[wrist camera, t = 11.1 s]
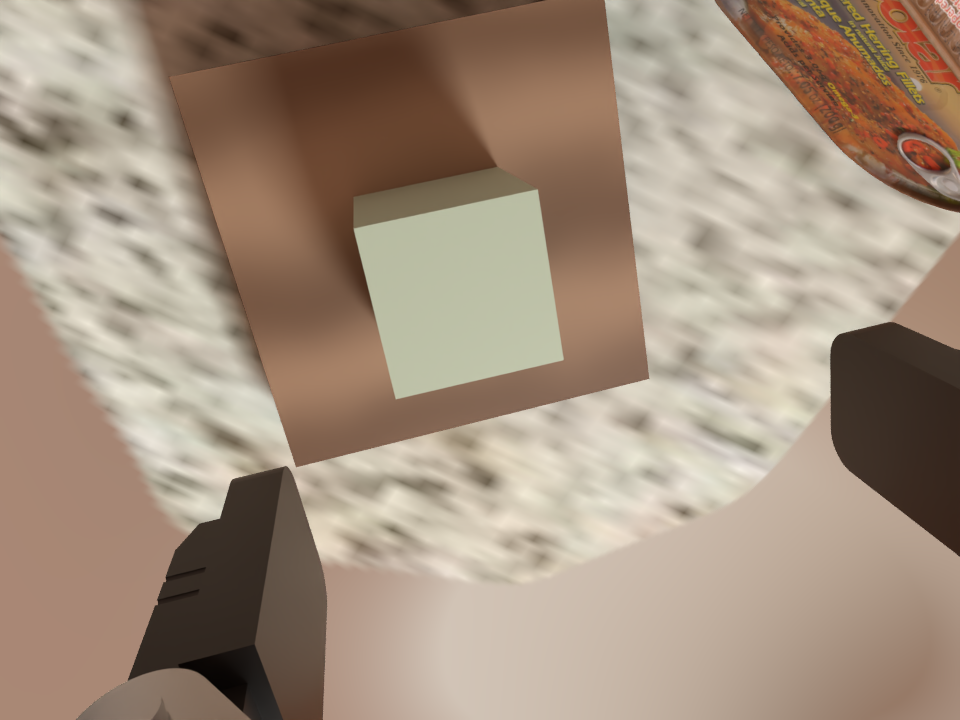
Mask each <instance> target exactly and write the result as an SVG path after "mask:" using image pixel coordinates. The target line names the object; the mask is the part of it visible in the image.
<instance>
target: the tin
mask: <svg viewBox="0 0 960 720" xmlns="http://www.w3.org/2000/svg"><path fill="white" fill-rule="evenodd" d="M715 1H716V3H717V4H718V6H719V7H720V9H721V10H722V11H723V12H724V13H725V15H726V16H727V17H728V18H729V20H730V21H731V22H732V23H733V24H734V26H735V27H736V28H737V29H738V30H739V31H740V33H741V34H742V35H743V36H744V37H745V38H746V40H747V41H748V42H749V43H750V44H751V45H752V47H753V48H754V49H755V50H756V51H757V52H758V53H759V55H760V56H761V57H762V58H763V60H764V61H765V62H766V63H767V64H768V65H769V66H770V68H771V69H772V70H773V71H774V72H775V73H776V75H777V76H778V77H779V78H780V79H781V80H782V82H783V83H784V84H785V85H786V86H787V87H788V89H789V90H790V91H791V92H792V93H793V94H794V96H795V97H796V98H797V99H798V101H799V102H800V103H801V104H802V105H803V107H804V108H805V109H806V110H807V111H808V112H809V113H810V115H811V116H812V117H813V118H814V119H815V121H816V122H817V123H818V124H819V125H820V126H821V128H822V129H823V130H824V131H825V132H826V134H827V135H828V136H829V137H830V138H831V139H832V140H833V142H834V143H835V144H836V145H837V146H838V147H839V148H840V149H841V150H842V151H843V152H844V153H845V154H846V155H847V156H848V157H849V158H851V159H852V160H853V161H854V162H855V163H857V164H858V165H859V166H860V167H862V168H863V169H864V170H866V171H867V172H868V173H870V174H871V175H872V176H874V177H875V178H877V179H878V180H880V181H882V182H883V183H885V184H886V185H888V186H890V187H892V188H894V189H896V190H898V191H899V192H901V193H903V194H906V195H908V196H910V197H912V198H914V199H916V200H919V201H921V202H924V203H927V204H930V205H933V206H936V207H939V208H942V209H946V210H950V211H954V212H959V213H960V0H715Z"/></svg>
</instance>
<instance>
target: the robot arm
mask: <svg viewBox="0 0 960 720" xmlns="http://www.w3.org/2000/svg"><path fill="white" fill-rule="evenodd" d="M830 369H831V435H832V440H833V444H834V447H835V450H836V452H837V454H838V456H839V457H840V459H841V461H842V463H843V464H844V465H845V467H846V468H847V469H848V470H849V471H850V472H852V473H853V474H854V475H855V476H857V477H858V478H859V479H861V480H862V481H863V482H864V483H866V484H867V485H868V486H870V487H871V488H872V489H873V490H875V491H876V492H877V493H879V494H880V495H881V496H882V497H884V498H885V499H886V500H888V501H889V502H890V503H891V504H893V505H894V506H895V507H897V508H898V509H899V510H901V511H902V512H903V513H904V514H906V515H907V516H908V517H910V518H911V519H912V520H913V521H915V522H916V523H917V524H919V525H920V526H921V527H922V528H924V529H925V530H926V531H928V532H929V533H930V534H932V535H933V536H934V537H935V538H937V539H938V540H939V541H940V542H942V543H943V544H944V545H946V546H947V547H948V548H949V549H951V550H952V551H954V552H955V553H956V554H957V555H958V556H960V350H957V349H954V348H951V347H949V346H947V345H944V344H942V343H940V342H938V341H935V340H933V339H931V338H929V337H926V336H924V335H922V334H919V333H917V332H915V331H913V330H910V329H908V328H906V327H903V326H901V325H899V324H896V323H893V322H888V323H883V324H879V325H875V326H871V327H867V328H863V329H858V330H854V331H850V332H846V333H842V334H839V335H838V336H837V337H836V338H835V339H834V341H833V343H832V346H831V354H830ZM157 600H158V605H156V606H155V607H154V610H153V613H152V616H151V618H150V621H149V624H148V627H147V629H146V632H145V635H144V637H143V640H142V643H141V646H140V648H139V651H138V654H137V657H136V659H135V662H134V665H133V668H132V670H131V673H130V676H129V678H128V681H127V682H125V683H123V684H121V685H119V686H117V687H116V688H114V689H112V690H111V691H109V692H108V693H106V694H105V695H103V696H102V697H101V698H99V699H98V700H97V701H95V702H94V703H93V704H92V705H90V706H89V707H88V708H87V709H86V710H85V711H84V712H83V713H82V714H81V715H80V716H79V717H78V718H77V719H76V720H323V696H324V695H323V694H324V670H325V644H326V617H327V595H326V586H325V580H324V574H323V570H322V565H321V562H320V558H319V555H318V552H317V549H316V545H315V542H314V539H313V536H312V533H311V530H310V527H309V523H308V520H307V517H306V514H305V511H304V508H303V505H302V501H301V498H300V495H299V492H298V489H297V486H296V483H295V480H294V477H293V475H292V473H291V471H290V469H289V468H288V467H287V466H285V467H281V468H277V469H272V470H268V471H264V472H260V473H256V474H252V475H248V476H243V477H239V478H235V479H233V480H232V481H231V483H230V486H229V490H228V493H227V497H226V500H225V503H224V507H223V510H222V514H221V517H220V519H217V520H213V521H209V522H205V523H201V524H199V525H198V526H197V527H196V528H195V529H194V530H193V531H192V533H191V534H190V535H189V536H188V537H187V538H186V539H185V540H184V541H183V543H182V544H181V545H180V546H179V547H178V548H177V549H176V550H175V553H174V556H173V558H172V561H171V564H170V566H169V569H168V572H167V575H166V582H164V583H163V586H162V588H161V591H160V594H159V596H158V599H157Z"/></svg>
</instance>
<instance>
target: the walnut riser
mask: <svg viewBox="0 0 960 720" xmlns="http://www.w3.org/2000/svg"><path fill="white" fill-rule="evenodd" d="M169 79H170V82H171V85H172V88H173V91H174V94H175V97H176V100H177V103H178V106H179V109H180V112H181V115H182V118H183V121H184V125H185V128H186V131H187V134H188V137H189V140H190V143H191V146H192V149H193V152H194V155H195V158H196V161H197V164H198V168H199V171H200V174H201V177H202V180H203V183H204V186H205V189H206V192H207V195H208V198H209V201H210V204H211V207H212V210H213V214H214V217H215V220H216V223H217V226H218V229H219V232H220V235H221V238H222V241H223V244H224V247H225V250H226V253H227V256H228V260H229V263H230V266H231V269H232V272H233V275H234V278H235V281H236V284H237V287H238V290H239V293H240V296H241V299H242V302H243V306H244V309H245V312H246V315H247V318H248V321H249V324H250V327H251V330H252V333H253V336H254V339H255V342H256V345H257V348H258V352H259V355H260V358H261V361H262V364H263V367H264V370H265V373H266V376H267V379H268V382H269V385H270V388H271V391H272V394H273V398H274V401H275V404H276V407H277V410H278V413H279V416H280V419H281V422H282V425H283V428H284V431H285V434H286V437H287V440H288V444H289V447H290V450H291V453H292V456H293V459H294V462H295V465H296V467H299V466H303V465H307V464H311V463H315V462H319V461H323V460H327V459H331V458H335V457H339V456H343V455H347V454H351V453H355V452H359V451H363V450H367V449H371V448H375V447H379V446H383V445H387V444H391V443H394V442H398V441H402V440H406V439H410V438H414V437H418V436H422V435H426V434H430V433H434V432H438V431H442V430H446V429H450V428H454V427H458V426H462V425H466V424H470V423H474V422H478V421H482V420H486V419H490V418H494V417H498V416H502V415H506V414H510V413H514V412H518V411H522V410H526V409H530V408H534V407H538V406H542V405H546V404H550V403H554V402H558V401H562V400H566V399H570V398H574V397H578V396H582V395H586V394H590V393H594V392H598V391H602V390H606V389H610V388H614V387H618V386H622V385H626V384H630V383H634V382H638V381H642V380H646V379H649V373H648V364H647V356H646V348H645V339H644V331H643V322H642V314H641V305H640V297H639V288H638V280H637V271H636V263H635V254H634V246H633V238H632V229H631V221H630V212H629V204H628V195H627V187H626V178H625V170H624V161H623V153H622V145H621V136H620V128H619V119H618V111H617V102H616V94H615V85H614V77H613V68H612V60H611V51H610V43H609V35H608V26H607V18H606V9H605V1H604V0H545V1H540V2H535V3H530V4H525V5H520V6H515V7H510V8H505V9H501V10H496V11H491V12H486V13H481V14H476V15H471V16H466V17H461V18H456V19H451V20H446V21H441V22H436V23H432V24H427V25H422V26H417V27H412V28H407V29H402V30H397V31H392V32H387V33H382V34H377V35H372V36H368V37H363V38H358V39H353V40H348V41H343V42H338V43H333V44H328V45H323V46H318V47H313V48H308V49H304V50H299V51H294V52H289V53H284V54H279V55H274V56H269V57H264V58H259V59H254V60H249V61H244V62H240V63H235V64H230V65H225V66H220V67H215V68H210V69H205V70H200V71H195V72H190V73H185V74H180V75H176V76H171V77H169ZM494 167H499V168H501V169H503V170H504V171H506V172H508V173H510V174H511V175H513V176H515V177H517V178H519V179H520V180H522V181H524V182H526V183H527V184H529V185H531V186H533V187H535V188H536V189H538V194H539V201H540V207H541V214H542V221H543V227H544V234H545V240H546V247H547V253H548V260H549V266H550V273H551V280H552V286H553V293H554V299H555V306H556V312H557V319H558V325H559V332H560V338H561V345H562V352H563V358H564V360H562V361H558V362H554V363H549V364H545V365H541V366H537V367H532V368H528V369H524V370H519V371H515V372H511V373H507V374H502V375H498V376H494V377H489V378H485V379H481V380H477V381H472V382H468V383H464V384H459V385H455V386H451V387H447V388H442V389H438V390H434V391H429V392H425V393H421V394H417V395H412V396H408V397H404V398H399V399H396V398H395V394H394V390H393V386H392V382H391V378H390V374H389V370H388V366H387V362H386V358H385V354H384V350H383V346H382V342H381V338H380V334H379V330H378V325H377V321H376V317H375V313H374V309H373V305H372V301H371V297H370V293H369V289H368V285H367V281H366V277H365V273H364V269H363V265H362V261H361V257H360V253H359V249H358V245H357V241H356V237H355V233H354V198H353V197H356V196H361V195H365V194H370V193H375V192H380V191H384V190H389V189H394V188H399V187H404V186H408V185H413V184H418V183H423V182H427V181H432V180H437V179H442V178H446V177H451V176H456V175H461V174H466V173H470V172H475V171H480V170H485V169H489V168H494Z"/></svg>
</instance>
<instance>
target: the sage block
mask: <svg viewBox="0 0 960 720" xmlns="http://www.w3.org/2000/svg"><path fill="white" fill-rule="evenodd" d="M353 198H354V233H355V237H356V241H357V245H358V249H359V253H360V257H361V261H362V265H363V269H364V273H365V277H366V281H367V285H368V289H369V293H370V297H371V301H372V305H373V309H374V313H375V317H376V321H377V325H378V330H379V334H380V338H381V342H382V346H383V350H384V354H385V358H386V362H387V366H388V370H389V374H390V378H391V382H392V386H393V390H394V394H395V398H396V399H399V398H404V397H408V396H412V395H417V394H421V393H425V392H429V391H434V390H438V389H442V388H447V387H451V386H455V385H459V384H464V383H468V382H472V381H477V380H481V379H485V378H489V377H494V376H498V375H502V374H507V373H511V372H515V371H519V370H524V369H528V368H532V367H537V366H541V365H545V364H549V363H554V362H558V361H562V360H564V358H563V352H562V345H561V338H560V332H559V325H558V319H557V312H556V306H555V299H554V293H553V286H552V280H551V273H550V266H549V260H548V253H547V247H546V240H545V234H544V227H543V221H542V214H541V207H540V201H539V194H538V189H536V188H535V187H533V186H531V185H529V184H527V183H526V182H524V181H522V180H520V179H519V178H517V177H515V176H513V175H511V174H510V173H508V172H506V171H504V170H503V169H501V168H499V167H494V168H489V169H485V170H480V171H475V172H470V173H466V174H461V175H456V176H451V177H446V178H442V179H437V180H432V181H427V182H423V183H418V184H413V185H408V186H404V187H399V188H394V189H389V190H384V191H380V192H375V193H370V194H365V195H361V196H356V197H353Z"/></svg>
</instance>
